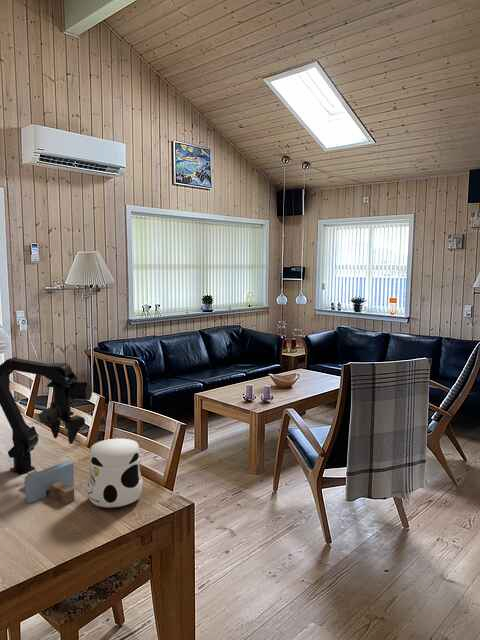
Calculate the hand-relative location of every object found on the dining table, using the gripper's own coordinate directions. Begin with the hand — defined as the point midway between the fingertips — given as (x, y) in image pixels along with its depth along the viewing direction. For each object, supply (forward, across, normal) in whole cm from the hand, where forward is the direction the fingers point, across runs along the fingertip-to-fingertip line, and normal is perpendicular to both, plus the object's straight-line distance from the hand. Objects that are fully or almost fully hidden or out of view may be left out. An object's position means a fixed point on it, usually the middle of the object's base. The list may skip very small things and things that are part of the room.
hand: (63, 440), depth 179 cm
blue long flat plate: (+12, +10, -12) cm, 20 cm away
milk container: (+12, +31, -2) cm, 33 cm away
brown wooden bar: (+12, +10, -12) cm, 20 cm away
